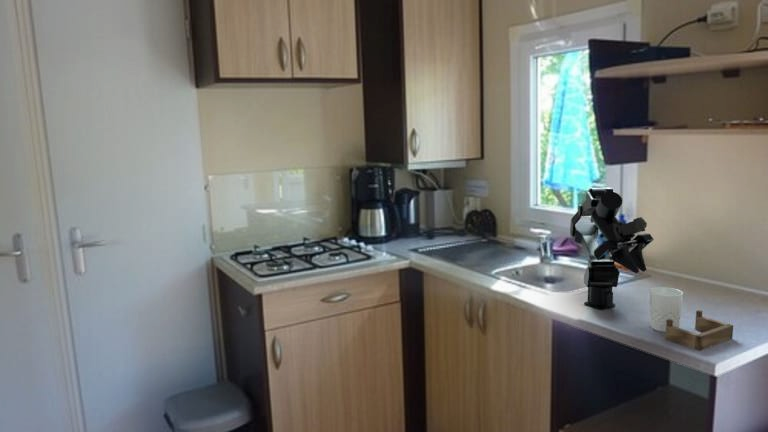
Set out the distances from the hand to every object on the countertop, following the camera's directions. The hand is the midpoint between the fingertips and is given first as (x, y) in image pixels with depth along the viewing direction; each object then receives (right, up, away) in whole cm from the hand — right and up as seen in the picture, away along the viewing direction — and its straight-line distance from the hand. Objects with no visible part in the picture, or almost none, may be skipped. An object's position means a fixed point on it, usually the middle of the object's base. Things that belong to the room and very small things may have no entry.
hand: (641, 271), depth 160 cm
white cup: (+4, -15, -4) cm, 16 cm away
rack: (+9, -16, -12) cm, 22 cm away
